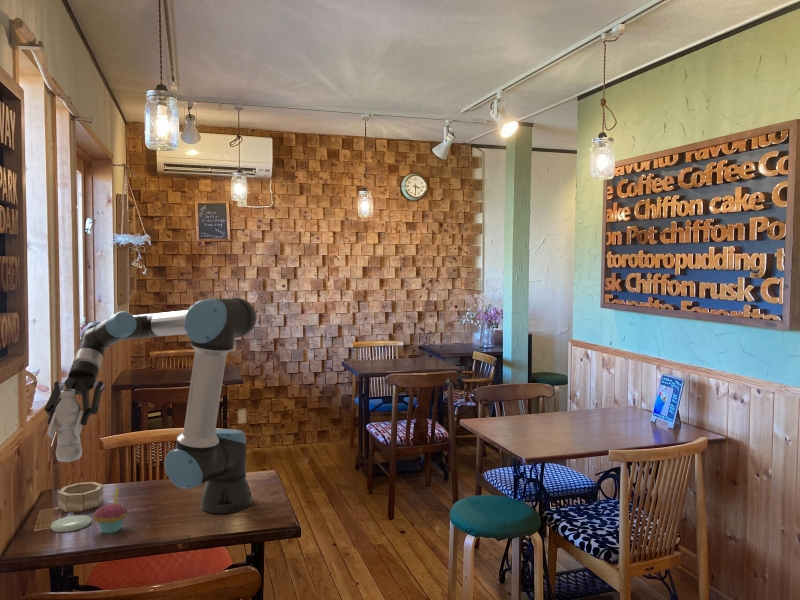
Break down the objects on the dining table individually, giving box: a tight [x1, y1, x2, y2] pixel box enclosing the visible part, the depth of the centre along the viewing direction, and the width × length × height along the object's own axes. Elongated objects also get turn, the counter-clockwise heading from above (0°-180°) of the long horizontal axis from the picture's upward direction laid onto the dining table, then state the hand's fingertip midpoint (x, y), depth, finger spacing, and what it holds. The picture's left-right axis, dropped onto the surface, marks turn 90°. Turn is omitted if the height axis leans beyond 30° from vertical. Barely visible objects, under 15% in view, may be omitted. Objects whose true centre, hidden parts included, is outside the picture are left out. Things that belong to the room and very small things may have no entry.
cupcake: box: [92, 485, 129, 534], centre depth 170 cm, size 9×8×12 cm
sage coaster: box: [50, 514, 92, 533], centre depth 174 cm, size 10×10×1 cm
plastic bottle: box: [55, 389, 83, 463], centre depth 173 cm, size 6×7×20 cm
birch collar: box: [57, 481, 104, 513], centre depth 189 cm, size 11×11×5 cm
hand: (63, 434), depth 169 cm, fingers closed on plastic bottle, 6 cm apart
